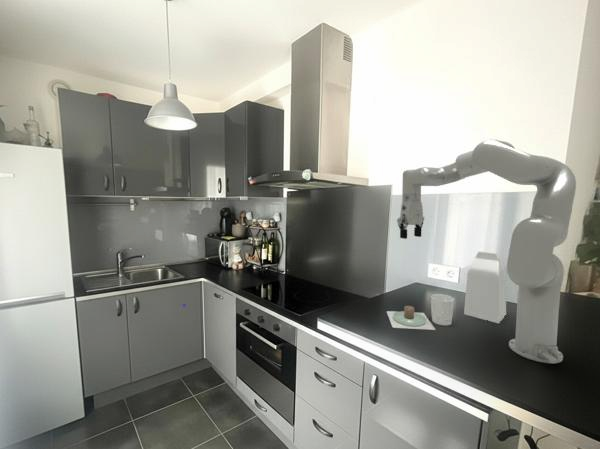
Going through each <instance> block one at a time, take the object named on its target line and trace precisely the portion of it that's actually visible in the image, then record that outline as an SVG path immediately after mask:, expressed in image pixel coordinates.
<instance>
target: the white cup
mask: <svg viewBox="0 0 600 449" xmlns="http://www.w3.org/2000/svg"><path fill="white" fill-rule="evenodd" d="M454 303H455V299H454V298H453V297H452V296H450V295H446V294H440V293H435V294H432V295H430V307H431V308H430V311H431V322H433V323H434V324H436V325H438V326H439V325H440V326H451V325H452V321H453V317H454V316H453V315H454V305H455V304H454Z"/></svg>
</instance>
